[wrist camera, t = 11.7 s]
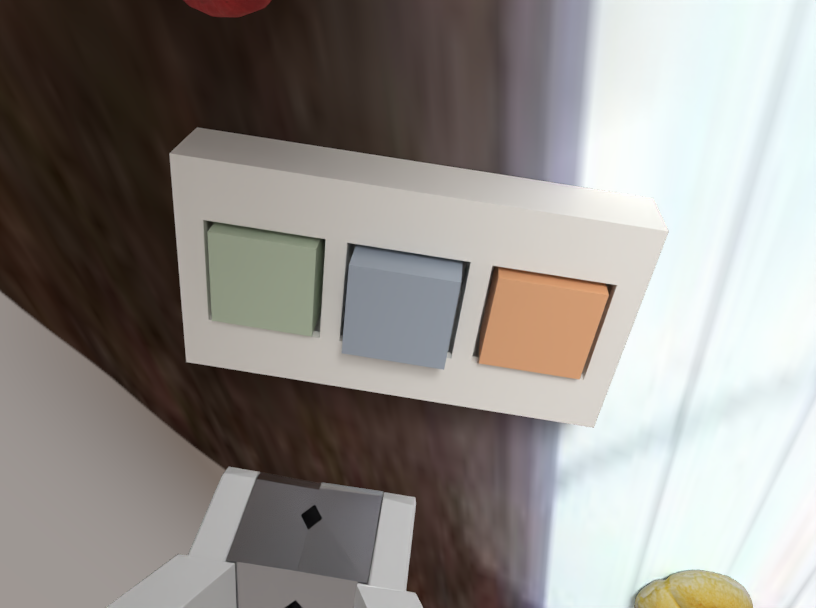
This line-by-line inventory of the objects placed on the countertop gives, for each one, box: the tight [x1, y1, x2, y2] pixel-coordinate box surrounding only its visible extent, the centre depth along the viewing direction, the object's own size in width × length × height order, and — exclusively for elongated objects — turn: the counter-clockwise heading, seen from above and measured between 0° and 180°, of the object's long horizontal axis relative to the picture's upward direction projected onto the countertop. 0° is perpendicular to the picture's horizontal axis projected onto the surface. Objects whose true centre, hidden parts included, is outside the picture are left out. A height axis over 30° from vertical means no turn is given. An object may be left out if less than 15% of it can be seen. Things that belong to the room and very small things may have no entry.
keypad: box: [169, 127, 669, 428], centre depth 41 cm, size 14×26×4 cm, turn 83°
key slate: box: [342, 244, 463, 370], centre depth 39 cm, size 6×6×3 cm
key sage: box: [207, 222, 326, 337], centre depth 40 cm, size 6×6×3 cm
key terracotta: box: [479, 266, 609, 379], centre depth 40 cm, size 6×6×3 cm
